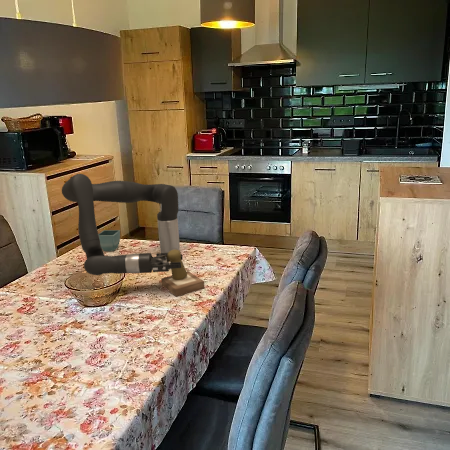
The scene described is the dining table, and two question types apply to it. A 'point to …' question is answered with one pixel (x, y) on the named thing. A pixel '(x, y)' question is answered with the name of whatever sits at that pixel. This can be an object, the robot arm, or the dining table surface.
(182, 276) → the brown wooden pawn
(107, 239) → the flower pot
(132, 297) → the dining table surface
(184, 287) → the dock board
